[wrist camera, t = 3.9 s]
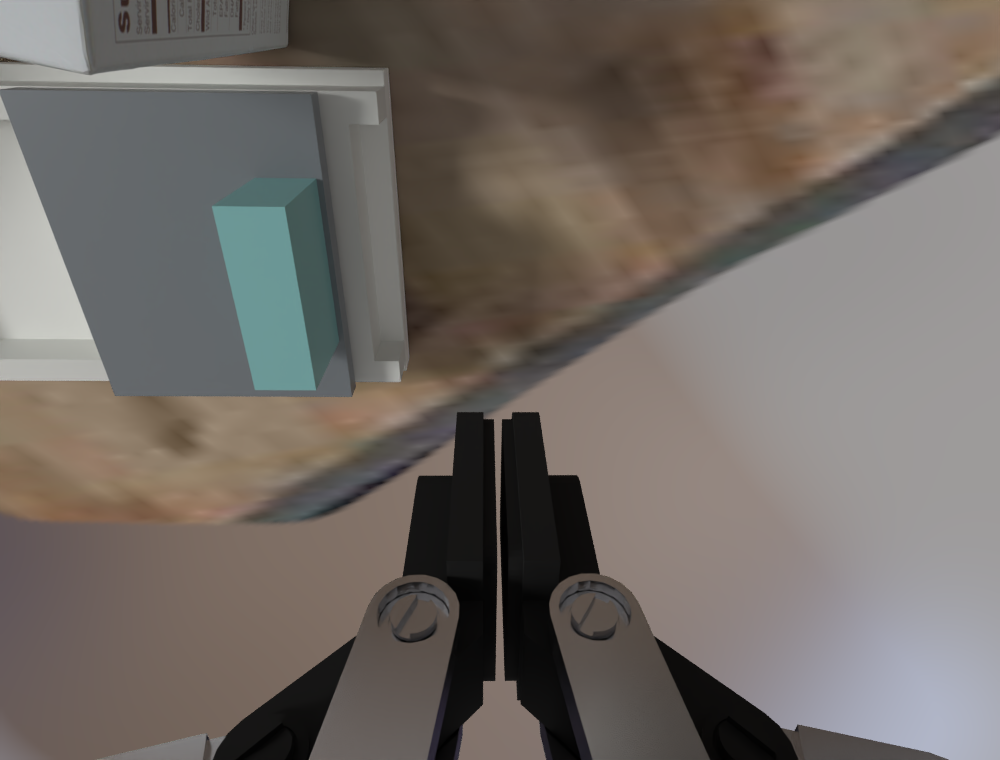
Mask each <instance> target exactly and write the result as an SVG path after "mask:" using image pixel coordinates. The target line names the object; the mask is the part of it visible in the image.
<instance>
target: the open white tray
mask: <svg viewBox="0 0 1000 760" xmlns="http://www.w3.org/2000/svg"><path fill="white" fill-rule="evenodd" d="M14 87H36V88H104V89H171V90H238V91H305V92H318V100H319V108H320V115H321V123H322V131H323V138H324V146H325V154H326V161H327V169H328V177H329V184H330V192H331V200H332V207H333V215H334V223H335V230H336V238H337V246H338V253H339V261H340V269H341V276H342V284H343V292H344V299H345V307H346V315H347V322H348V330H349V338H350V345H351V353H352V361H353V368H354V376H355V382H401V378H402V374H403V371H407V367H408V362H409V358H410V357H409V343H408V330H407V316H406V302H405V289H404V275H403V261H402V248H401V234H400V220H399V207H398V193H397V179H396V166H395V152H394V138H393V125H392V111H391V97H390V84H389V70H388V68H360V67H297V66H233V65H170V64H161V65H156V66H150V67H140V68H135V69H128V70H119V71H112V72H105V73H98V74H93V75H85V74H80V73H75V72H70V71H65V70H60V69H55V68H50V67H45V66H40V65H35V64H31V63H26V62H0V89H7V88H14ZM0 380H41V381H109V379H108V376H107V373H106V371H105V368H104V366H103V363H102V360H101V358H100V355H99V352H98V350H97V347H96V345H95V342H94V339H93V337H92V334H91V332H90V329H89V326H88V324H87V321H86V318H85V316H84V313H83V311H82V308H81V305H80V303H79V300H78V297H77V295H76V292H75V290H74V287H73V284H72V282H71V279H70V276H69V274H68V271H67V269H66V266H65V263H64V261H63V258H62V256H61V253H60V250H59V248H58V245H57V242H56V240H55V237H54V235H53V232H52V229H51V227H50V224H49V221H48V219H47V216H46V214H45V211H44V208H43V206H42V203H41V200H40V198H39V195H38V193H37V190H36V187H35V185H34V182H33V180H32V177H31V174H30V172H29V169H28V166H27V164H26V161H25V159H24V156H23V153H22V151H21V148H20V145H19V143H18V140H17V138H16V135H15V132H14V130H13V127H12V124H11V122H10V119H9V117H8V114H7V111H6V109H5V106H4V104H3V101H2V98H1V96H0Z"/></svg>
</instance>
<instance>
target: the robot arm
mask: <svg viewBox="0 0 1000 760" xmlns="http://www.w3.org/2000/svg"><path fill="white" fill-rule="evenodd" d="M501 446H502V447H501V497H500V499H501V500H500V541H501V543H500V544H501V576H502V606H503V638H504V666H505V667H504V670H505V681H517V682H516V683H517V700H521V705H522V706H524V707H525V708H526V709H527V710H528V711H529V712H530V713H531V714H532V715H533V716H534V717H536V718H537V719H538V720H539V724H540V735H541V740H542V744H543V748H544V752H545V757H546V760H948V759H945V758H943V757H940V756H937V755H934V754H932V753H929V752H924V751H919V750H915V749H910V748H905V747H901V746H896V745H891V744H886V743H882V742H877V741H873V740H868V739H863V738H858V737H853V736H849V735H845V734H840V733H835V732H830V731H826V730H821V729H816V728H812V727H807V726H802V725H797V727H796V729H795V731H792V730H787V729H783V728H780V726H779V725H778V724H777V723H775V722H774V721H773V720H772V719H771V718H769V716H767V715H766V714H765V713H764V712H762V711H761V710H759V709H758V708H756V707H755V706H754V705H752V704H751V703H749V702H748V701H746V700H745V699H744V698H742V697H741V696H739V695H738V694H736V693H735V692H734V691H732V690H731V689H729V688H728V687H726V686H725V685H723V684H722V683H721V682H719V681H718V680H716V679H715V678H713V677H712V676H710V675H709V674H708V673H706V672H705V671H703V670H702V669H700V668H699V667H698V666H696V665H695V664H693V663H692V662H690V661H689V660H688V659H686V658H685V657H683V656H682V655H680V654H679V653H677V652H676V651H675V650H673V649H672V648H670V647H669V646H667V645H666V644H665V643H663V642H662V641H660V640H659V639H657V638H656V637H655V636H653V634H652V631H651V629H650V627H649V625H648V623H647V620H646V618H645V616H644V614H643V611H642V609H641V607H640V605H639V603H638V601H637V600H636V598H635V597H634V595H633V594H632V592H631V591H630V590H629V589H627V588H626V587H625V586H624V585H623V584H621V583H620V582H618V581H616V580H614V579H612V578H610V577H607V576H603V575H600V572H599V568H598V563H597V559H596V554H595V549H594V545H593V540H592V536H591V531H590V526H589V522H588V517H587V512H586V508H585V503H584V498H583V494H582V489H581V484H580V481H579V478H578V476H577V475H548V471H547V464H546V457H545V450H544V443H543V437H542V430H541V423H540V416H539V413H538V412H513V413H512V419H502V445H501ZM495 489H496V487H495V451H494V419H483V412H457V422H456V435H455V449H454V463H453V476H419V477H418V480H417V486H416V493H415V499H414V506H413V513H412V519H411V525H410V532H409V539H408V545H407V552H406V558H405V565H404V571H403V577H401V578H397V579H395V580H393V581H391V582H390V583H388V584H386V585H384V586H383V587H382V588H381V589H380V590H379V591H378V592H377V593H376V594H375V595H374V597H373V598H372V600H371V602H370V604H369V605H368V608H367V610H366V613H365V615H364V618H363V621H362V623H361V626H360V628H359V631H358V634H357V636H356V637H354V638H353V639H351V640H350V641H349V642H347V643H346V644H345V645H343V646H342V647H341V648H339V649H338V650H336V651H335V652H334V653H332V654H331V655H330V656H328V657H327V658H326V659H324V660H323V661H322V662H320V663H319V664H318V665H316V666H315V667H313V668H312V669H311V670H309V671H308V672H307V673H305V674H304V675H303V676H301V677H300V678H299V679H297V680H296V681H295V682H293V683H292V684H290V685H289V686H288V687H287V688H285V689H284V690H283V691H281V692H280V693H278V694H277V695H276V696H274V697H273V698H272V699H270V700H269V701H268V702H266V703H265V704H263V705H262V706H261V707H259V708H258V709H257V710H255V711H254V712H253V713H251V714H250V715H249V716H247V717H246V718H245V719H243V720H242V721H241V722H240V723H239V724H238V725H237V726H235V727H234V728H233V729H232V730H231V731H230V732H229V733H228V734H227V735H226V736H223V737H219V738H215V739H211V740H209V737H208V735H207V733H205V734H201V735H197V736H193V737H188V738H184V739H180V740H176V741H172V742H168V743H164V744H159V745H155V746H151V747H147V748H143V749H138V750H134V751H130V752H126V753H122V754H117V755H114V756H109V757H105V758H101V759H97V760H458V758H459V752H460V747H461V741H462V735H463V724H464V722H465V721H467V720H468V719H469V718H470V716H472V715H473V714H474V713H475V712H476V711H477V710H478V709H479V708H480V706H482V705H483V681H495V664H496V608H497V606H496V605H497V527H496V490H495Z"/></svg>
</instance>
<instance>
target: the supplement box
mask: <svg viewBox="0 0 1000 760" xmlns="http://www.w3.org/2000/svg"><path fill="white" fill-rule="evenodd" d="M288 16H289V0H0V57H3V58H8V59H12V60H16V61H21V62H26V63H31V64H35V65H40V66H45V67H50V68H55V69H60V70H65V71H70V72H75V73H80V74H85V75H93V74H98V73H105V72H112V71H119V70H128V69H135V68H140V67H150V66H156V65H161V64H171V63H180V62H189V61H197V60H205V59H212V58H218V57H226V56H232V55H240V54H245V53H254V52H260V51H267V50H272V49H279V48H285V47H287V46H288Z"/></svg>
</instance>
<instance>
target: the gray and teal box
mask: <svg viewBox="0 0 1000 760" xmlns="http://www.w3.org/2000/svg"><path fill="white" fill-rule="evenodd" d="M0 96H1V98H2V101H3V104H4V106H5V109H6V111H7V114H8V117H9V119H10V122H11V124H12V127H13V130H14V132H15V135H16V138H17V140H18V143H19V145H20V148H21V151H22V153H23V156H24V159H25V161H26V164H27V166H28V169H29V172H30V174H31V177H32V180H33V182H34V185H35V187H36V190H37V193H38V195H39V198H40V200H41V203H42V206H43V208H44V211H45V214H46V216H47V219H48V221H49V224H50V227H51V229H52V232H53V235H54V237H55V240H56V242H57V245H58V248H59V250H60V253H61V256H62V258H63V261H64V263H65V266H66V269H67V271H68V274H69V276H70V279H71V282H72V284H73V287H74V290H75V292H76V295H77V297H78V300H79V303H80V305H81V308H82V311H83V313H84V316H85V318H86V321H87V324H88V326H89V329H90V332H91V334H92V337H93V339H94V342H95V345H96V347H97V350H98V352H99V355H100V358H101V360H102V363H103V366H104V368H105V371H106V373H107V376H108V379H109V381H110V384H111V387H112V389H113V392H114V394H115V396H288V397H352V395H353V393H354V390H355V387H356V384H355V376H354V368H353V361H352V353H351V345H350V338H349V330H348V322H347V315H346V307H345V299H344V292H343V284H342V276H341V269H340V261H339V253H338V246H337V238H336V230H335V223H334V215H333V207H332V200H331V192H330V184H329V177H328V169H327V161H326V154H325V146H324V138H323V131H322V123H321V115H320V108H319V100H318V92H305V91H238V90H171V89H104V88H36V87H14V88H7V89H0Z"/></svg>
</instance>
